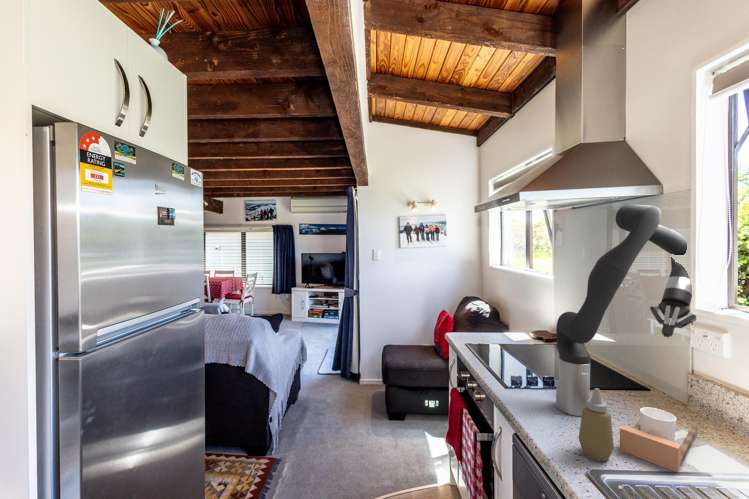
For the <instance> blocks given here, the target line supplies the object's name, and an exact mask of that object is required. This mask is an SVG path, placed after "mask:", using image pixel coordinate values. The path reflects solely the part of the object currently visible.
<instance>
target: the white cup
mask: <svg viewBox="0 0 749 499" xmlns="http://www.w3.org/2000/svg"><path fill="white" fill-rule="evenodd" d="M639 420H640V428H641V431H643V432H646V433H649V434H652V435H655V436H658V437H661V438H664V439H666V440H669V441H672V442H675V438H676V429H677V417H676V416H675V414H673V413H671V412H668V411H667V410H663V409H660V408H656V407H651V406H650V407H649V406H645V407H641V408H640V409H639Z"/></svg>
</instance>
